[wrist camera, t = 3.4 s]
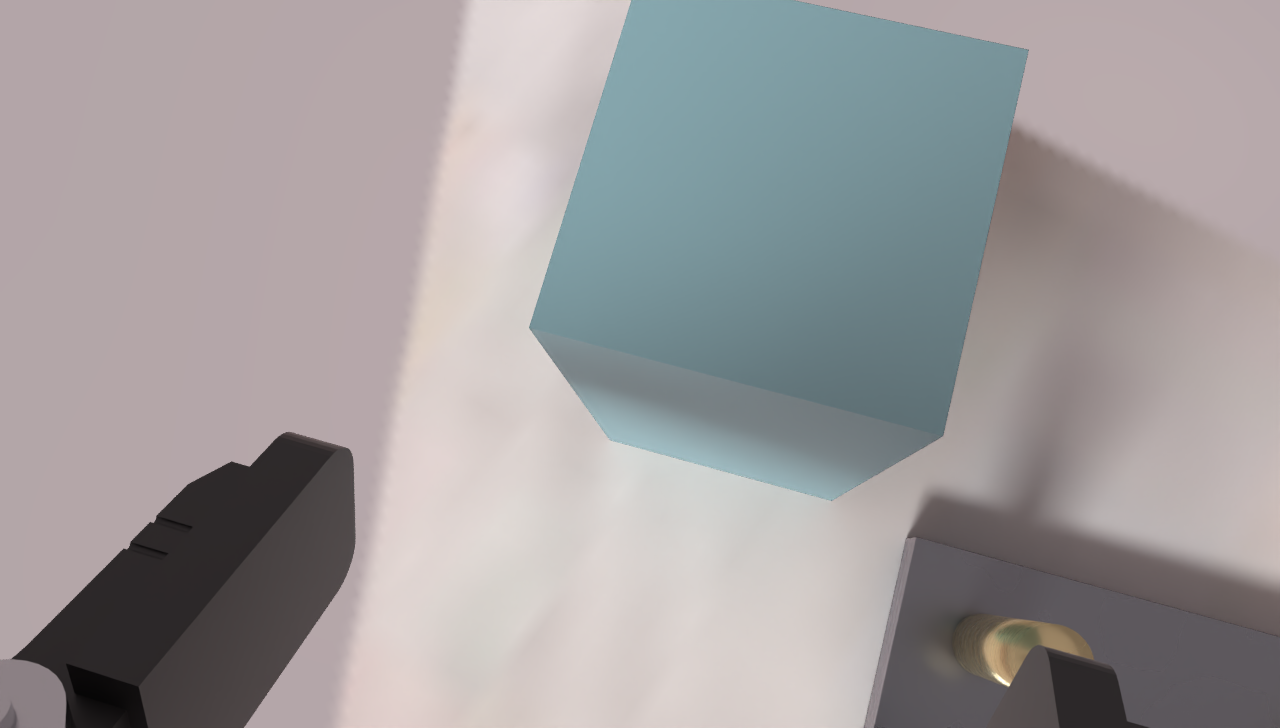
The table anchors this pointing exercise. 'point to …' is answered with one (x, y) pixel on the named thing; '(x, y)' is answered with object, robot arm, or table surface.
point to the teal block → (779, 236)
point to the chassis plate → (1057, 647)
